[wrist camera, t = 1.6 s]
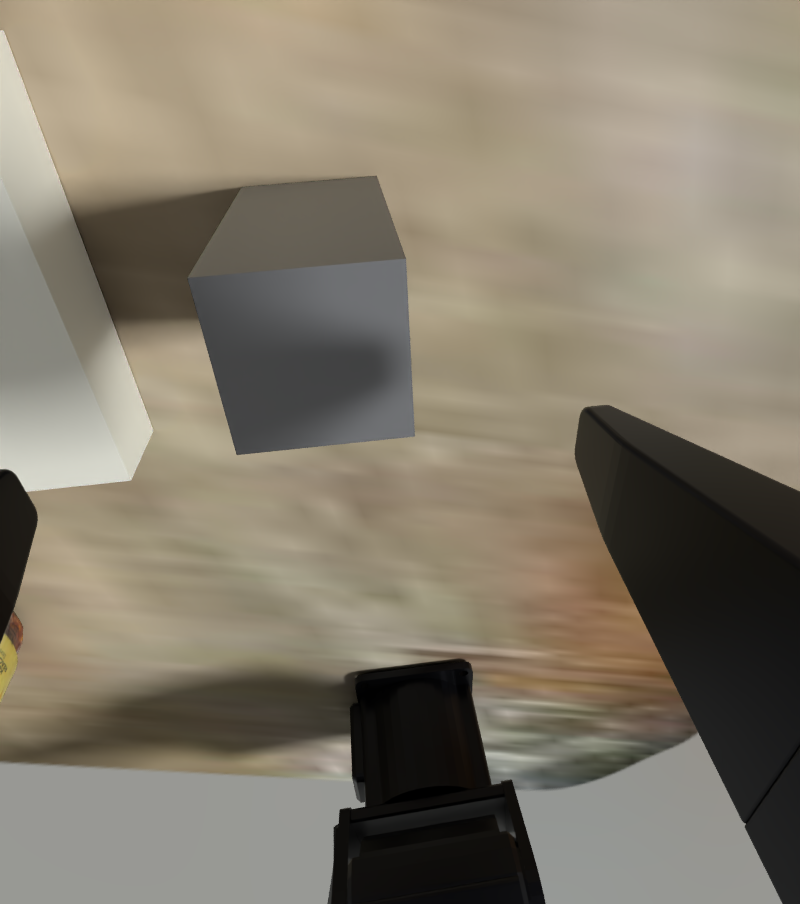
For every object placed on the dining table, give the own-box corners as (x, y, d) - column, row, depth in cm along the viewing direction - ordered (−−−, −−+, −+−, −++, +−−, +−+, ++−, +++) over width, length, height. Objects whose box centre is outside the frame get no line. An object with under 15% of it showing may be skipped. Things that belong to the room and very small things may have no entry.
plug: (376, 176, 17) (405, 258, 11) (386, 304, 19) (414, 436, 13) (241, 187, 17) (186, 278, 10) (267, 315, 19) (236, 455, 13)
